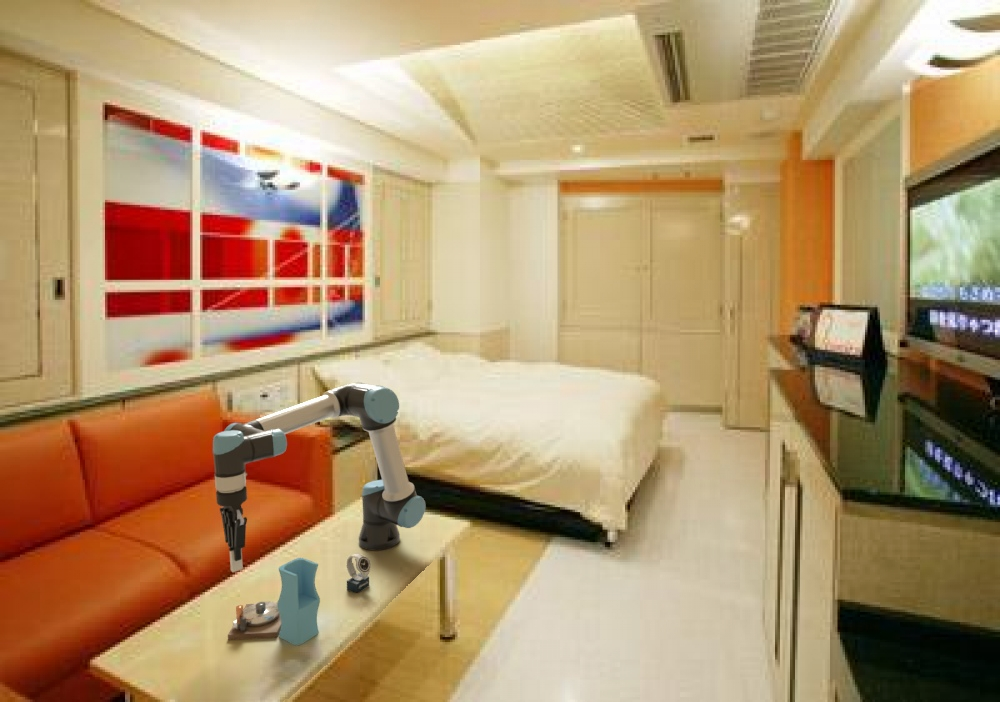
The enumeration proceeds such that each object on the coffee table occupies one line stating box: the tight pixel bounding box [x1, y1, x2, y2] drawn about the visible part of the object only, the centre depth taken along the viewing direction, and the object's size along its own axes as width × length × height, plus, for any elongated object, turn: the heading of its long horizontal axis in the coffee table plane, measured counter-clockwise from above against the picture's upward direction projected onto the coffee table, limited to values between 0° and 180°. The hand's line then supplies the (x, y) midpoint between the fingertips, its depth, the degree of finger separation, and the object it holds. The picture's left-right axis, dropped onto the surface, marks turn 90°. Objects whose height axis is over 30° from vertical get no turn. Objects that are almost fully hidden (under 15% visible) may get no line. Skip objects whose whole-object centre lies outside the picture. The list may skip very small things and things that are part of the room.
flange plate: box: [232, 601, 280, 630], centre depth 161 cm, size 12×10×6 cm
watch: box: [346, 552, 372, 595], centre depth 181 cm, size 6×8×11 cm
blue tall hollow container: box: [276, 557, 321, 646], centre depth 156 cm, size 8×8×20 cm
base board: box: [227, 603, 281, 641], centre depth 163 cm, size 15×13×5 cm
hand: (236, 569), depth 158 cm, fingers closed
